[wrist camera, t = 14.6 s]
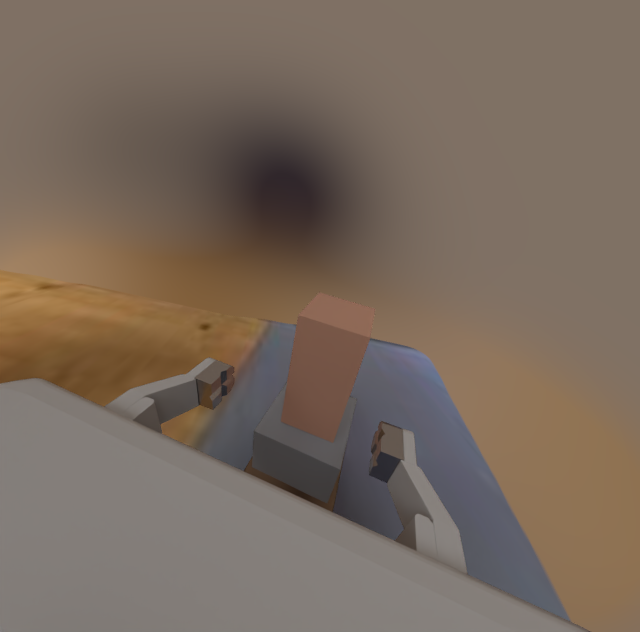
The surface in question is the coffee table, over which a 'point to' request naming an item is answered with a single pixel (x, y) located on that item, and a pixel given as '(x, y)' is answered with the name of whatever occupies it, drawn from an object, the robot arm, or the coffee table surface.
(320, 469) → the tower top
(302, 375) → the terracotta block
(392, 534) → the coffee table surface
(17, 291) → the coffee table surface
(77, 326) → the coffee table surface
